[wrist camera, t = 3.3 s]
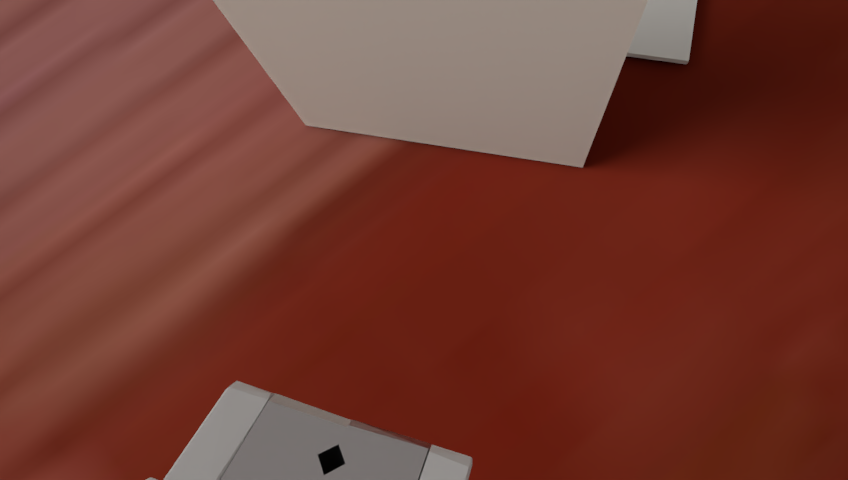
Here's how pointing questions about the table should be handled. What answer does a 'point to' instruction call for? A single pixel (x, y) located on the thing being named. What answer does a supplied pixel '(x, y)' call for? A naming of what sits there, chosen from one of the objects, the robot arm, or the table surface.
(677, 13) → the felt mat
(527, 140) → the card box
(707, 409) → the table surface
